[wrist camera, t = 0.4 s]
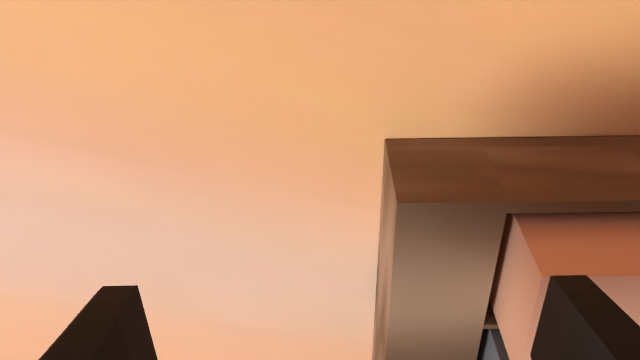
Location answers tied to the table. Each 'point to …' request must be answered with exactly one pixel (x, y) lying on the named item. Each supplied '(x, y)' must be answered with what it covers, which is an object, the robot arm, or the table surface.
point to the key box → (475, 226)
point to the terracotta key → (561, 266)
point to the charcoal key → (492, 346)
